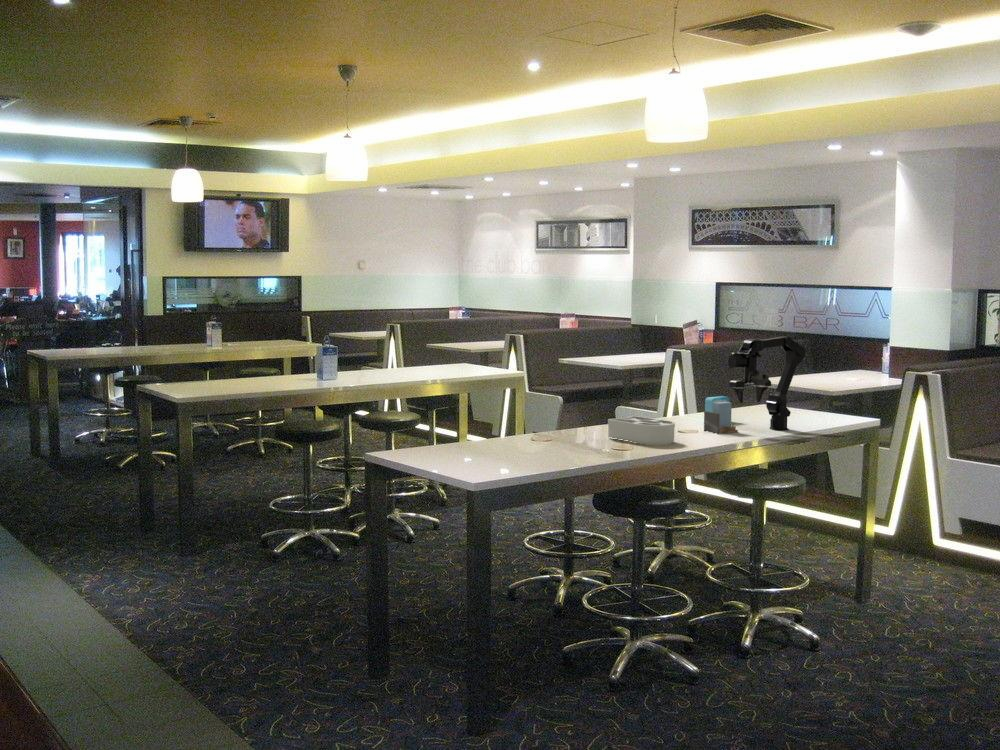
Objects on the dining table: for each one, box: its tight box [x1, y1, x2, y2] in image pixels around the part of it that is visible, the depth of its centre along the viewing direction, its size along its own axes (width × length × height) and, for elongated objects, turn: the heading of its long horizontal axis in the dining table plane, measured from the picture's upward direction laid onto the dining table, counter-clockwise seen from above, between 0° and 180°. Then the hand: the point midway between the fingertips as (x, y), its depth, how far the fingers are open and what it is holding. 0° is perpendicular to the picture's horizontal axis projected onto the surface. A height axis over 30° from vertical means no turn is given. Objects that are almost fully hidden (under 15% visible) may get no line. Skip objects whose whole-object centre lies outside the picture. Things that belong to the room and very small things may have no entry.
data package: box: [704, 395, 730, 412], centre depth 482 cm, size 12×4×12 cm, turn 125°
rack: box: [703, 410, 739, 435], centre depth 452 cm, size 11×10×9 cm
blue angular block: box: [713, 401, 732, 428], centre depth 452 cm, size 7×4×12 cm, turn 114°
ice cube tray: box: [607, 415, 676, 446], centre depth 430 cm, size 17×28×9 cm, turn 38°
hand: (749, 402), depth 450 cm, fingers open, 9 cm apart
